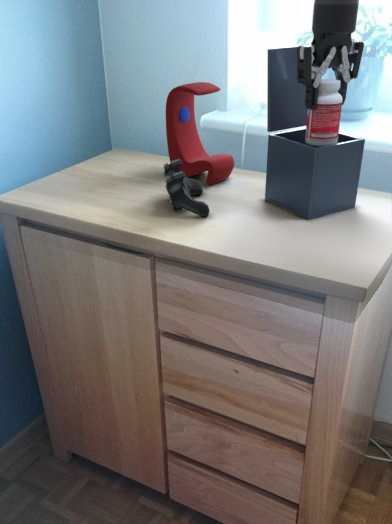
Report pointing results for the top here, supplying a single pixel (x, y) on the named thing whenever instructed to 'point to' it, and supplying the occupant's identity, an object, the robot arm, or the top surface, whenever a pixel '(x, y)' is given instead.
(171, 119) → the chair
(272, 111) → the chest lid
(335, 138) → the pill bottle
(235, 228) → the top surface
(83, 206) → the top surface
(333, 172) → the chest
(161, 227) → the top surface
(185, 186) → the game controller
